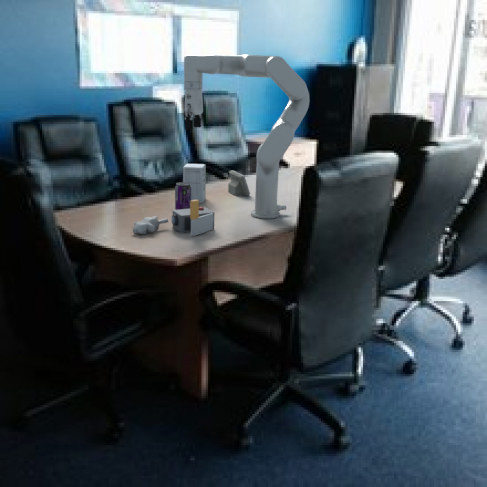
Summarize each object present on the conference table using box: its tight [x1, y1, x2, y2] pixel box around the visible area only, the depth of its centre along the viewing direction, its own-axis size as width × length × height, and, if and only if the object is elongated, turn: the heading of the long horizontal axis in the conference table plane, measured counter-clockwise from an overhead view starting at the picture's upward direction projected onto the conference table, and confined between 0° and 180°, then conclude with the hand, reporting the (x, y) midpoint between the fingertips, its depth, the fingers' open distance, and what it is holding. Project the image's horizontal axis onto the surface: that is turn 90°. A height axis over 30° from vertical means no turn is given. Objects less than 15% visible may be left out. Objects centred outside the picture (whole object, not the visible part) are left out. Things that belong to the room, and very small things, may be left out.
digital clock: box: [227, 170, 251, 197], centre depth 289 cm, size 16×9×11 cm, turn 12°
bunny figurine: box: [132, 215, 169, 236], centre depth 224 cm, size 10×5×15 cm
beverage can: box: [174, 181, 191, 210], centre depth 253 cm, size 7×7×12 cm
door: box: [190, 199, 215, 237], centre depth 220 cm, size 13×2×14 cm, turn 143°
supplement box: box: [182, 163, 207, 204], centre depth 271 cm, size 10×9×17 cm
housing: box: [171, 206, 215, 234], centre depth 227 cm, size 15×9×8 cm, turn 118°
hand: (193, 128), depth 241 cm, fingers open, 9 cm apart
